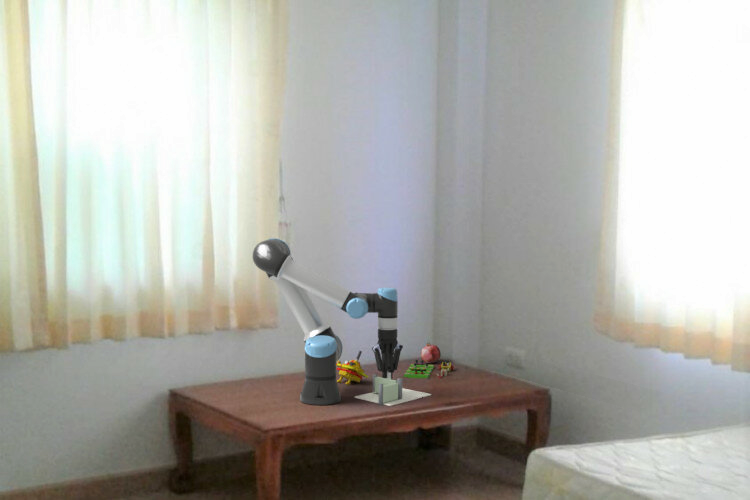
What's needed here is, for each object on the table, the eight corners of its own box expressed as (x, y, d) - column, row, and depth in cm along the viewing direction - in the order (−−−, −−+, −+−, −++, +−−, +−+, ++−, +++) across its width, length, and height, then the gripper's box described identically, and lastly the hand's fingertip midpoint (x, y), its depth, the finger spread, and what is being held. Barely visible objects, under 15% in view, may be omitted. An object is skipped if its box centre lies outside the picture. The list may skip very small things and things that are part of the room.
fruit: (442, 361, 416) (442, 339, 415) (438, 365, 407) (439, 343, 406) (422, 360, 418) (422, 338, 418) (418, 364, 409) (418, 342, 408)
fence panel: (397, 396, 344) (397, 378, 343) (395, 396, 342) (395, 379, 342) (374, 391, 351) (374, 373, 351) (371, 391, 350) (372, 374, 350)
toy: (327, 377, 370) (341, 344, 374) (343, 386, 376) (357, 353, 380) (348, 383, 360) (363, 348, 364) (364, 392, 366) (378, 358, 370)
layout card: (389, 406, 332) (389, 404, 332) (354, 397, 344) (354, 396, 344) (431, 395, 350) (431, 394, 350) (396, 387, 362) (396, 386, 362)
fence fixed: (381, 405, 333) (381, 383, 332) (377, 404, 334) (377, 382, 334) (403, 399, 342) (403, 378, 342) (399, 398, 343) (399, 377, 343)
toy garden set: (410, 367, 404) (411, 357, 403) (454, 369, 401) (454, 359, 400) (403, 378, 381) (404, 367, 381) (449, 380, 378) (449, 369, 378)
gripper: (396, 325, 355) (396, 385, 357) (368, 328, 348) (367, 389, 350) (407, 328, 349) (406, 388, 350) (378, 331, 342) (378, 392, 344)
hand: (387, 388), depth 350 cm, fingers closed
